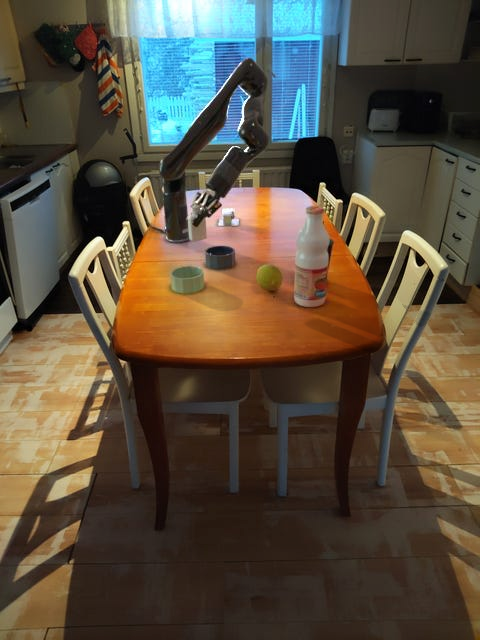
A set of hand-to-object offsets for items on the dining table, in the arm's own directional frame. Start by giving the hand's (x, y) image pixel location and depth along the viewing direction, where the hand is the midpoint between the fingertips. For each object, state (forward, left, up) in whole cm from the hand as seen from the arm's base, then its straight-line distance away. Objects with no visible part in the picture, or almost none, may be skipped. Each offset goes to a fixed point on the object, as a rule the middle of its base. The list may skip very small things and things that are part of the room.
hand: (191, 223), depth 145 cm
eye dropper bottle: (0, +2, -6) cm, 6 cm away
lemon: (+22, +14, -19) cm, 32 cm away
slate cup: (-5, +14, -19) cm, 24 cm away
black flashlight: (+28, +30, -19) cm, 45 cm away
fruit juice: (+36, +18, -19) cm, 44 cm away
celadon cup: (+4, -5, -19) cm, 20 cm away
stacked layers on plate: (-43, +45, -19) cm, 65 cm away
